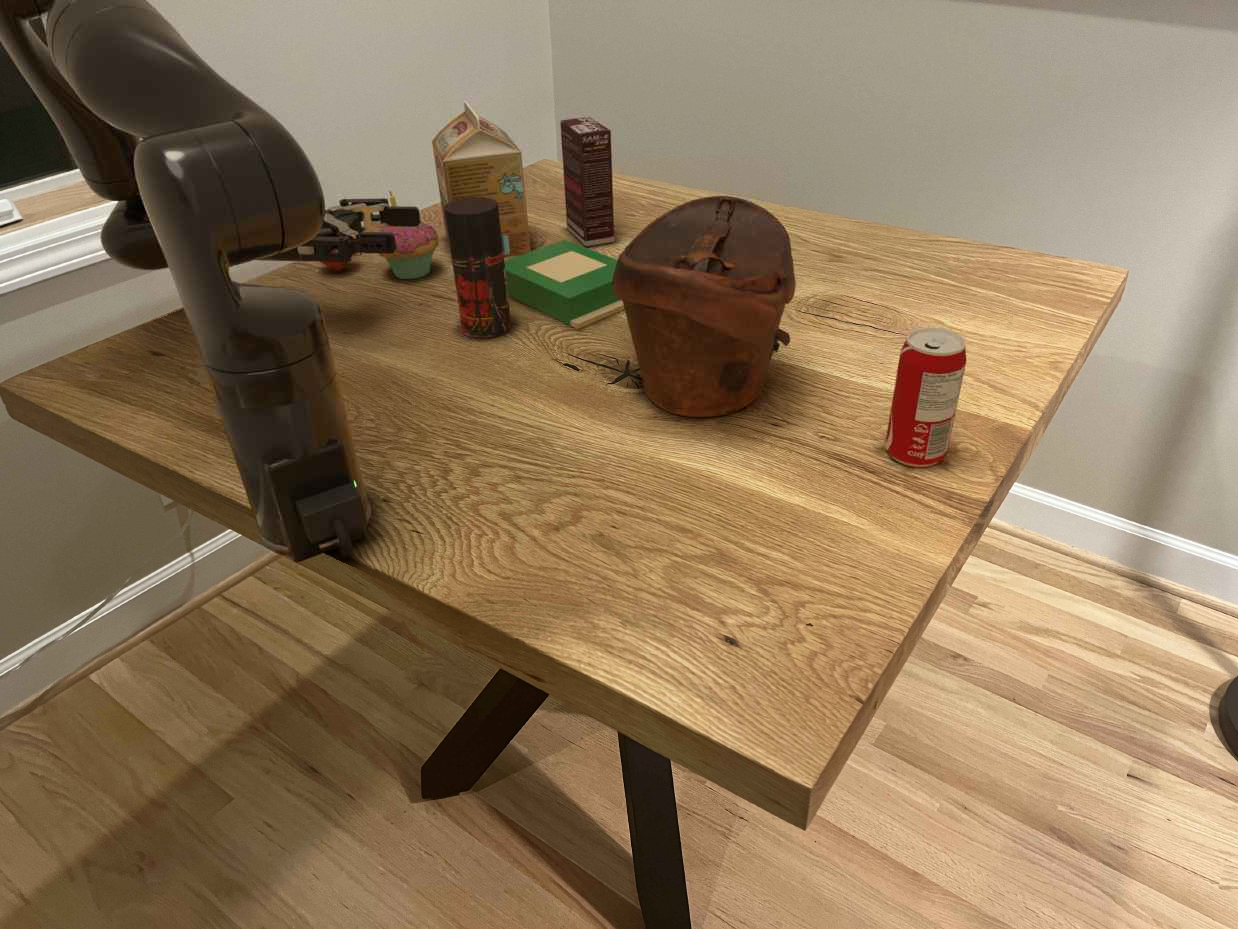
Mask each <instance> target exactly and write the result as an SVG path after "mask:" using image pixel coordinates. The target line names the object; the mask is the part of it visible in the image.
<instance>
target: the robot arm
mask: <svg viewBox="0 0 1238 929" xmlns="http://www.w3.org/2000/svg"><path fill="white" fill-rule="evenodd" d="M44 17H46V21H45V22H46V24H45V39H46V44H45V43H44V42H43V41H42V40H41V38H39V36H38V35H37V34H36V32H35V31H34V29H33V27H32V26H31V25H30V23H29V21H33V20H37V19H39V18H44ZM0 43H1V44H2V46H3V47H4V49H5V51H6V52H7V54H8V56H9V57H10V58H11V60H12V61H13V63H14V64H15V67H17V69H18V70H19V72H20V74H21V75H22V77H23V78H24V79H25V81H26V82H27V84H28V85H29V87H30V88H31V90H32V91H33V93H34V94H35V95H36V97H37V98H38V99H39V101H40V103H41V104H42V105H43V107H44V108H45V110H46V111H47V112H48V114H49V116H50V117H51V119H52V121H53V122H54V124H55V126H56V127H57V129H58V130H59V133H60V134H61V137H62V138H63V140H64V142H65V144H66V146H67V148H68V151H69V152H70V155H71V156H72V159H73V161H74V162H75V164H76V166H77V168H78V170H79V172H80V174H81V176H82V178H83V179H84V181H85V183H86V184H87V186H88V188H89V189H90V190H91V191H92V192H93V193H94V194H95V195H97V196H98V197H100V198H101V199H103V200H107V201H112V202H116V204H115V206H114V207H113V209H112V211H111V212H110V213H109V215H108V217H107V219H106V220H105V222H104V224H103V226H102V228H101V231H100V244H101V246H102V248H103V250H104V252H105V253H106V254H107V255H108V257H110V259H112V260H113V261H115V262H116V263H118V264H119V265H121V266H124V267H126V268H130V269H134V270H138V271H159V270H165V269H169V271H170V274H171V277H172V280H173V282H174V284H175V288H176V290H177V294H178V297H179V299H180V303H181V305H182V307H183V310H184V313H185V316H186V318H187V322H188V323H189V327H190V329H191V333H192V335H193V337H194V340H195V343H196V346H197V350H198V352H199V355H200V358H201V360H202V364H203V367H204V370H205V373H206V376H207V379H208V382H209V385H210V389H211V391H212V394H213V398H214V400H215V404H216V408H217V410H218V413H219V417H220V419H221V422H222V425H223V428H224V431H225V434H226V437H227V440H228V443H229V446H230V449H231V452H232V455H233V459H234V461H235V464H236V467H237V470H238V472H239V473H238V474H239V476H240V479H241V482H242V485H243V488H244V491H245V494H246V497H247V501H248V503H249V506H250V508H251V512H252V515H253V517H254V518H253V519H254V521H255V525H256V531H257V533H258V537H259V539H260V541H261V543H262V545H263V546H264V547H265V548H266V549H268V550H269V551H271V552H273V553H275V554H278V555H281V556H287V557H291V558H292V560H293V562H294V563H301V562H304V561H306V560H309V559H312V558H314V557H317V556H319V555H322V554H325V553H328V552H331V551H333V550H335V549H338V548H340V550H339V553H340V555H341V556H342V557H343V558H348V557H349V556H351V554H352V550H353V544H352V543H354V542H357V541H360V540H362V539H364V538H366V537H368V531H367V526H368V524H369V522H370V520H371V516H372V508H371V505H370V500H369V497H368V495H367V493H366V489H365V484H364V480H363V476H362V472H361V468H360V463H359V460H358V455H357V451H356V447H355V443H354V440H353V435H352V434H353V433H352V429H351V427H350V426H351V425H350V422H349V418H348V414H347V410H346V404H345V401H344V397H343V393H342V389H341V388H342V387H341V384H340V380H339V376H338V372H337V368H336V362H335V358H334V353H333V351H332V347H331V342H330V338H329V334H328V329H327V325H326V321H325V317H324V313H323V310H322V308H321V306H320V304H319V303H318V301H317V300H316V299H315V298H314V297H313V296H311V295H309V294H308V293H306V292H304V291H302V290H301V291H300V290H297V289H294V288H289V287H282V286H273V285H272V286H269V285H268V286H267V285H254V284H245V283H241V282H237V281H234V280H232V278H231V275H230V268H232V267H235V266H239V265H243V264H246V263H250V262H253V261H261V262H263V261H264V262H265V261H266V262H268V261H269V262H320V261H322V262H348V263H349V262H351V261H352V258H351V255H352V256H353V257H360V256H363V254H378V253H384V254H392V253H394V252H395V251H396V249H397V246H396V241H395V236H394V234H393V233H391V232H379V231H375V230H377V229H382V228H383V227H388V226H390V227H417V226H418V225H419V224H420V223H421V222H422V220H421V219H422V218H421V214H420V209H419V208H418V207H417V206H404V205H403V206H400V205H399V206H398V205H397V206H392V205H391V206H390V205H389V199H388V198H385V197H382V198H342V199H339V201H338V202H339V205H334V206H330V207H328V208H327V209H326V201H325V196H324V192H323V188H322V184H321V181H320V179H319V175H318V174H317V172H316V170H315V167H314V166H313V164H312V162H311V160H310V159H309V157H308V155H307V154H306V152H305V150H304V149H303V148H302V146H301V145H300V143H299V142H298V141H297V140H296V138H295V137H294V135H293V134H292V133H290V131H289V130H288V129H287V128H286V127H285V125H283V124H282V123H281V122H280V121H279V120H278V119H277V118H276V117H274V115H273V114H271V113H270V112H268V111H267V110H266V109H265V108H263V107H262V106H261V105H259V104H258V103H257V102H256V101H255V100H252V98H250V97H249V96H247V95H246V94H245V93H243V92H242V91H241V90H239V89H238V88H237V87H235V86H234V85H232V84H231V83H230V82H229V81H227V79H225V78H224V77H223V76H221V74H219V73H218V72H217V71H216V70H215V69H213V67H212V66H210V64H208V62H206V61H205V59H203V58H202V57H201V56H200V55H199V54H198V53H197V52H196V51H195V50H194V49H193V48H192V47H191V46H190V45H189V43H187V41H186V40H185V39H184V38H183V36H182V35H181V34H180V33H179V31H177V29H176V28H175V27H174V26H173V25H172V24H171V23H170V22H169V21H168V20H167V19H166V18H165V17H164V16H163V15H162V14H161V13H160V12H159V10H158V9H157V8H156V7H155V6H153V5H152V4H151V3H150V2H149V1H148V0H0ZM46 45H47V46H46ZM377 212H378V214H374V213H377ZM362 225H363V226H362ZM333 251H334V252H337V253H338V254H333V253H331V252H333Z"/></svg>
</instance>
